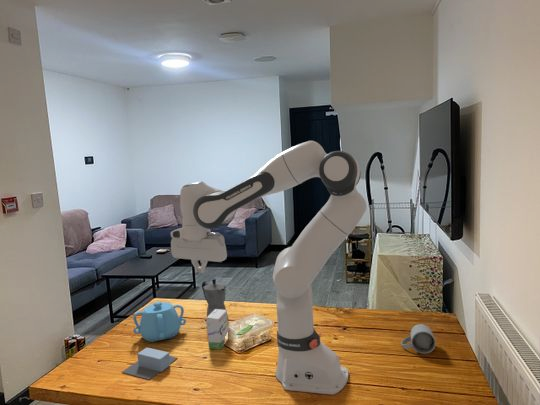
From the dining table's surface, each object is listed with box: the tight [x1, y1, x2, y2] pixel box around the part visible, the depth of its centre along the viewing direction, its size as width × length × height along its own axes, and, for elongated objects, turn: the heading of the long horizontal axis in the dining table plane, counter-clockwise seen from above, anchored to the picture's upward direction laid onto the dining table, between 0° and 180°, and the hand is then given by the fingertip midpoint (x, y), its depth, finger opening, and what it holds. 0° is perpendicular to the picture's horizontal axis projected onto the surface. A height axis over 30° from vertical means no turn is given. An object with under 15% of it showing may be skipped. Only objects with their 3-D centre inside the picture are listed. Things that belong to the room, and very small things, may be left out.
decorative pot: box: [132, 300, 187, 343], centre depth 161 cm, size 16×16×14 cm
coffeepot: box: [201, 278, 229, 320], centre depth 171 cm, size 15×9×18 cm, turn 44°
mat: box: [121, 355, 178, 381], centre depth 140 cm, size 12×14×1 cm
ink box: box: [205, 309, 229, 350], centre depth 151 cm, size 8×5×12 cm, turn 164°
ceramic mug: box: [400, 323, 437, 355], centre depth 139 cm, size 11×8×8 cm
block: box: [137, 347, 172, 373], centre depth 138 cm, size 4×4×10 cm
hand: (200, 272), depth 136 cm, fingers closed
